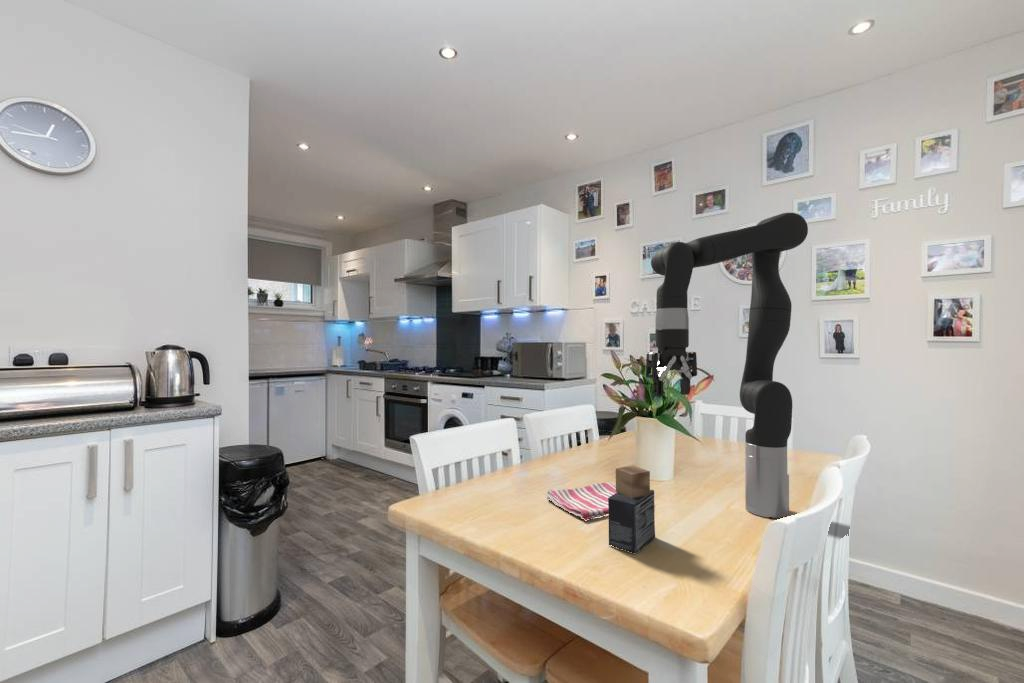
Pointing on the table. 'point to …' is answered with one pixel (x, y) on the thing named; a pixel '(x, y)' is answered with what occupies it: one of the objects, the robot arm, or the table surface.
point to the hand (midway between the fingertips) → (672, 395)
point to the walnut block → (633, 481)
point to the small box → (631, 521)
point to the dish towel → (584, 499)
